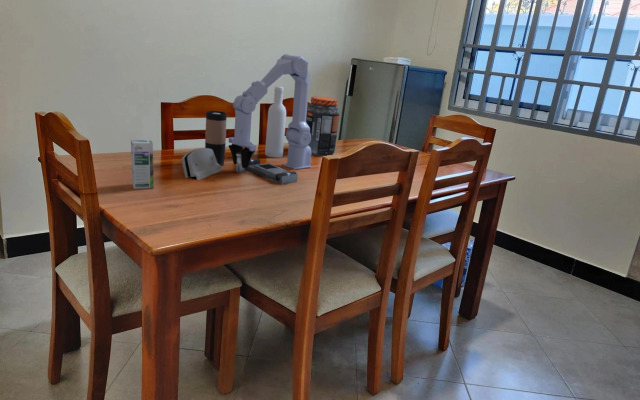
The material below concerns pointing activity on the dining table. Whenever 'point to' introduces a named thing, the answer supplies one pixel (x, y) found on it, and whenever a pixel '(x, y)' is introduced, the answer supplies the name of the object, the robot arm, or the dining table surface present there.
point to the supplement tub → (322, 125)
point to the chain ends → (272, 172)
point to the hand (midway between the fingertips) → (240, 165)
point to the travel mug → (216, 134)
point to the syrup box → (142, 163)
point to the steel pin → (239, 164)
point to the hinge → (200, 163)
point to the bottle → (276, 126)
